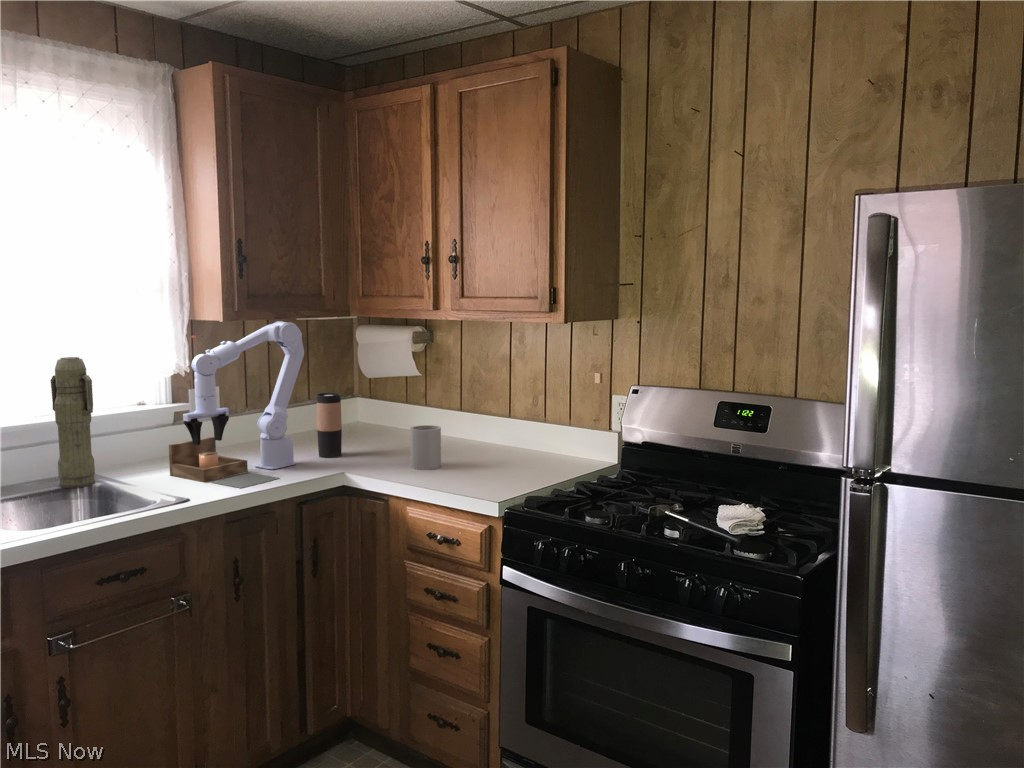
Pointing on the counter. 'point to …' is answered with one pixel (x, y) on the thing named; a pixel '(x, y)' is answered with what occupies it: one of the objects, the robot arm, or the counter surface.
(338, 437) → the travel mug
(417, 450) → the cup
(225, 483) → the slate mat
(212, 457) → the peach orange cylinder
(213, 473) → the potting tray
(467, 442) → the counter surface
